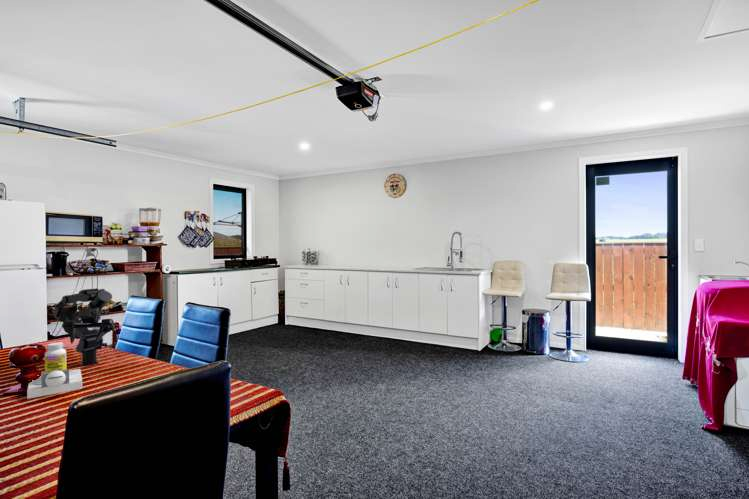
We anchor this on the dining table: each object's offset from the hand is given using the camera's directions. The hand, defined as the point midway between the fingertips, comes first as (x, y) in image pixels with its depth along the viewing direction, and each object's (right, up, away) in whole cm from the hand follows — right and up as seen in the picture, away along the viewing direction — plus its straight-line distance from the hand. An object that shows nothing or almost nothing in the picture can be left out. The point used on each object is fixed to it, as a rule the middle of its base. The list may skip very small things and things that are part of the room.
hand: (83, 342), depth 173 cm
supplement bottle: (0, -10, -16) cm, 19 cm away
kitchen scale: (0, -14, -16) cm, 21 cm away
